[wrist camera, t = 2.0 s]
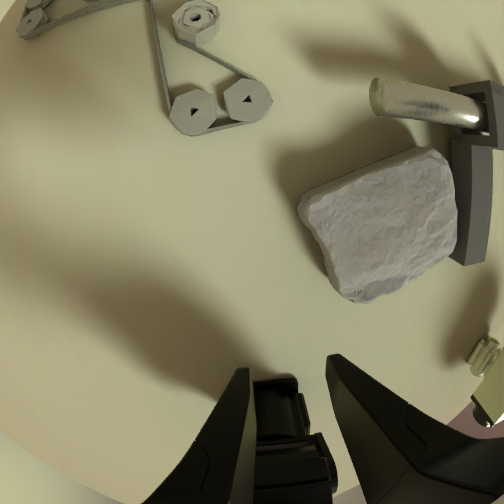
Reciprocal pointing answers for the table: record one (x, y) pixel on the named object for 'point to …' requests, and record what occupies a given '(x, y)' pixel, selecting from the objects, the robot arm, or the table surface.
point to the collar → (476, 172)
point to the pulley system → (188, 34)
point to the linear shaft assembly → (426, 104)
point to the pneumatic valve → (488, 382)
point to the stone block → (383, 222)
